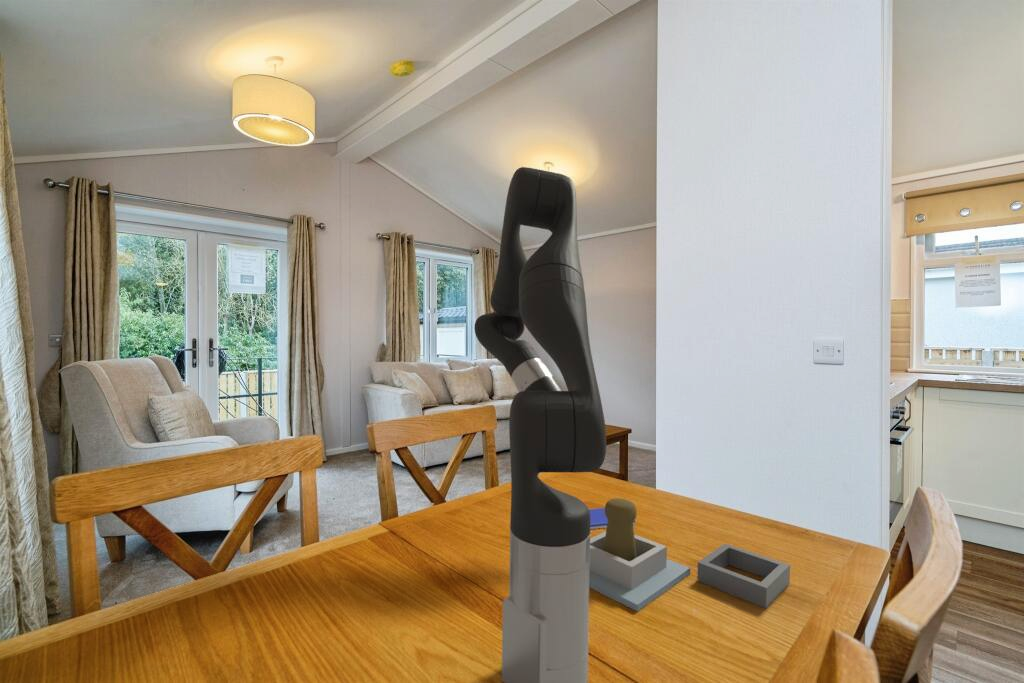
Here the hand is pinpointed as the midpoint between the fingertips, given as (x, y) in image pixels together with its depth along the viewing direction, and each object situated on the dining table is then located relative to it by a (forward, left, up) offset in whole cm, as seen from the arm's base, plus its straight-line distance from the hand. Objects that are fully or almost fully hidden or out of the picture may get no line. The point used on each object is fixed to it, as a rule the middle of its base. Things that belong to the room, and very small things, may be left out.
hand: (582, 456), depth 86 cm
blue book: (+15, +7, -19) cm, 25 cm away
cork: (0, -8, -17) cm, 19 cm away
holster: (+12, -24, -18) cm, 32 cm away
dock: (0, -9, -18) cm, 20 cm away
